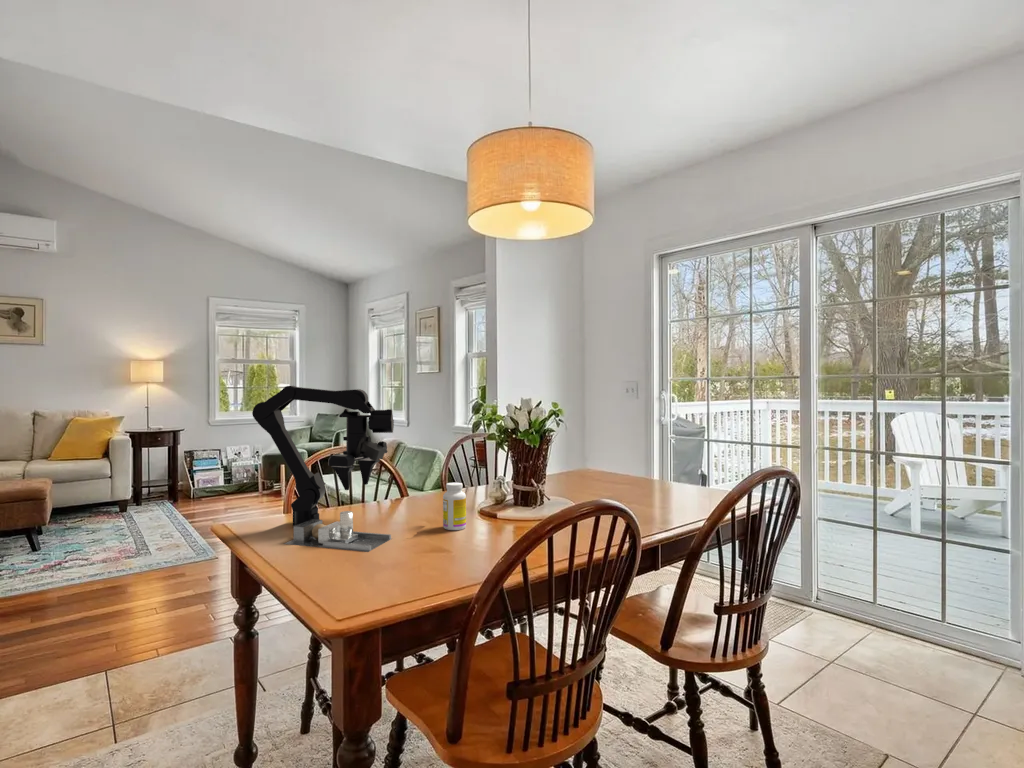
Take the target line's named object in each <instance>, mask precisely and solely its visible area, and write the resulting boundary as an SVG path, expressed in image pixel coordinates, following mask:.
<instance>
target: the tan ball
mask: <svg viewBox="0 0 1024 768" xmlns="http://www.w3.org/2000/svg"><path fill="white" fill-rule="evenodd" d="M324 526H326V524H324V523H322V524H317V525H315V526H314V527H313V529H312V536H313V537H314V538H315V539H317V540H318V529H319V528H322V527H324Z"/></svg>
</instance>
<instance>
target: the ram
mask: <svg viewBox="0 0 1024 768" xmlns="http://www.w3.org/2000/svg"><path fill="white" fill-rule="evenodd" d="M353 531H354V511H352V510H344V511H340V512H339V521H334V522H332V523H330V524H327V525H325V526H324V527H322V528H319V529H318V543H321V544H323V542H324V541H330V542H341V543H349V542H351V541H353V540H355V539H357V538H358V534H353Z"/></svg>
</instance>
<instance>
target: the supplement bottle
mask: <svg viewBox="0 0 1024 768" xmlns="http://www.w3.org/2000/svg"><path fill="white" fill-rule="evenodd" d="M445 486H446V491H445V492H444V493H443V495H442V513H443V514H442V518H443V519H442V526H443V529H445V530H448V531H460V530H464V529H466V527H467V495H466V493H465V492H464V491H463V487H464V486H463V483H462V482H447V483H446V484H445Z"/></svg>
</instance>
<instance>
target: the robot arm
mask: <svg viewBox="0 0 1024 768" xmlns="http://www.w3.org/2000/svg"><path fill="white" fill-rule="evenodd" d="M294 400H295V401H302V402H315V403H325V404H332V405H336V406H339V407H343V408H344V410H343V411H342V412H341V413H340V414H339V415H338V416H339V418H346V422H345V423H346V424H345V425H346V426H345V427H346V432H345V433H346V436H343V437H342V440H343V441H346V444H345V445H346V450H344V451H343V452H342V453H343V454H340V453H338V454H332V455H330V456H329V458H328V462H327V464H328V467H331V469H333V470H334V472H335V474H336V475H337V477H338V479H339V481H340V482H341V483H340V484H342V487H343V489H344V491H349V490H350V486H351V485H350V484H351V474H352V471H353V470H354V468H356V466H355V461H357V462H358V466H359V470H360V473H361V480H362V482H363V483H362V484H363V485H365V486H367V485H368V484H369V481H370V478H371V475H372V472H373V468H374V467H375V465H377V464H378V463H379V462H380V461H381V460H383V459H384V455H385V454H387V453H388V445H387V442H385V441H384V440H381V441H379V442H373V441H372V438H371V436H370V435H368V429H369V430H370V431H371V432H372V433H373V434H377V433H378V434H391V433H392V434H393V433H394V423H395V420H394V415H393V409H392V408H389V409H375V407H374V406H373V405H372V404H371V403H370V401H369V395H368V393H367V392H366V391H365V390H364V389H359V388H358V389H357V388H356V389H344V390H342V389H341V390H331V389H319V388H312V387H311V388H310V387H300V386H296V385H287V386H284V387H283V388H282V389H281V390H280V391H278V392H277V393H276V394H274V395H273V396H270V397H269V398H268V399H267V400H266V401H261V402H259V403H257V404H255V405H254V407H253V408H252V409H253V410H252V412H251V413H252V417H253V419H254V420H255V421H256V423H258V425H259V426H260V427H261V428H262V429H263V430H265V432H267V433H268V435H269V436H270V437H271V439H272V441H273V442H274V445H275V446H276V448H277V449H278V451H279V453H280V454H281V456H282V458H283V460H284V462H285V463H286V465H287V467H288V469H289V471H290V473H291V474H292V476H293V478H294V483H295V488H296V492H297V494H298V497H297V498H296V499H295V500H294V501H293V502H292V503H290V507H291V511H292V526H293V527H294V526H296V525H299V524H301V523H304V522H306V521H309V520H312V519H317V520H320V513H319V507H316V506H317V505H318V503H319V501H320V500H322V499H323V497H324V496H325V495H326V494H325V493H326V487H325V486H326V483H327V482H324V480H323V479H322V476H321V474H320V472H315V474H314V473H313V472H312V471H311V470H310V469H309V467H308V466H307V464H306V462H305V460H304V458H303V457H302V455H301V453H300V452H299V450H298V447H297V446H296V444H295V442H294V440H293V439H292V437H291V435H290V434H289V432H288V430H287V428H286V426H285V419H284V415H283V412H282V411H283V410H284V409H285V408H287V407H288V406H289V405H290V404H291V403H292V402H293V401H294ZM349 410H352V411H349ZM353 410H354V411H353ZM355 410H358V411H355ZM361 413H362V414H361Z"/></svg>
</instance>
